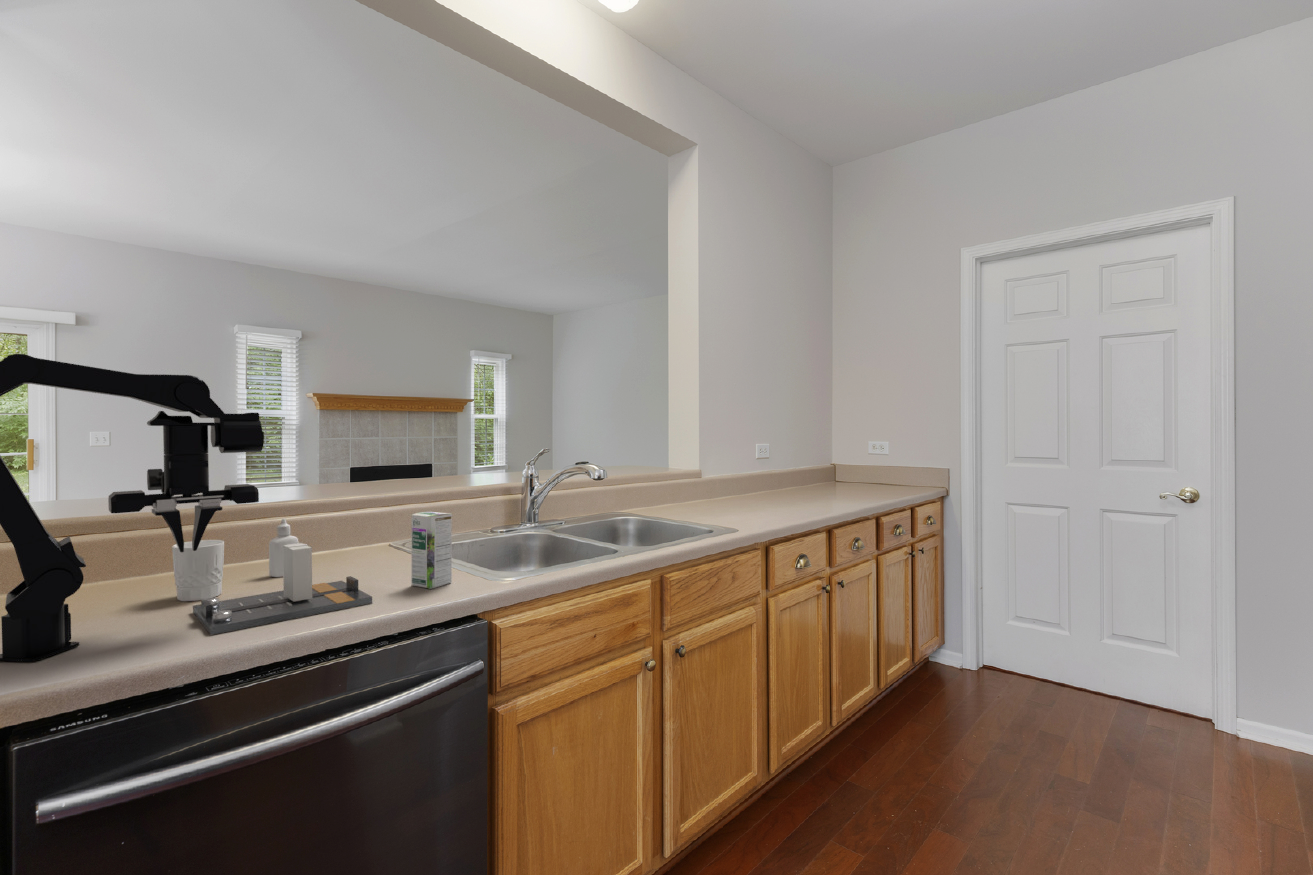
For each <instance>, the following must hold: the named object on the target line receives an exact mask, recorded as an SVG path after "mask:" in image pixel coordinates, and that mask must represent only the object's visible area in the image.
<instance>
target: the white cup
mask: <svg viewBox="0 0 1313 875" xmlns="http://www.w3.org/2000/svg"><path fill="white" fill-rule="evenodd" d="M171 551H172V552H171V553H172V564H173V575H174V576H173V577H174V581H175V582H174V585H175V586H176V599H177V601H180V602H196V601H202V600H204V599H209V598H217V597H219V596H220V595H221V594H222V590H223V588H222V587H223V585H222V584H223V581H222V580H223V578H224V577H223V576H224V566H225V565H224V564H225V563H224V561H225V555H224V554H225V540H222V539H221V540H220V539H203V540H202V539H201V541H200V543H199V546H198V548H197V550H196V551H193V549H192V540H190V541H184V552H180V551H179V548H178V546H177V544H173V545H172V546H171Z"/></svg>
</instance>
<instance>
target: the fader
mask: <svg viewBox="0 0 1313 875" xmlns="http://www.w3.org/2000/svg"><path fill="white" fill-rule="evenodd" d="M312 548H313V547H311V546H309V545H308V544H307V543H302V542H299V543H297V544H289V545H283V590H284V595H285V596H286V597H287V598H289V599H290V600H292V601H293V602H294V601H300V600H305V599H311V598H312V585H313V554H312V552H313V549H312Z"/></svg>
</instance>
